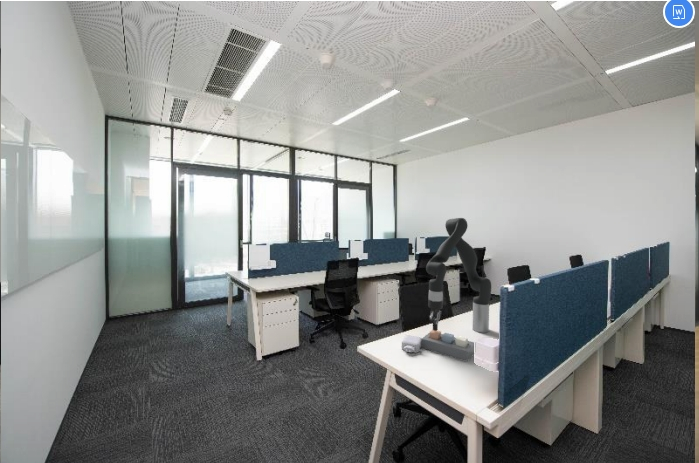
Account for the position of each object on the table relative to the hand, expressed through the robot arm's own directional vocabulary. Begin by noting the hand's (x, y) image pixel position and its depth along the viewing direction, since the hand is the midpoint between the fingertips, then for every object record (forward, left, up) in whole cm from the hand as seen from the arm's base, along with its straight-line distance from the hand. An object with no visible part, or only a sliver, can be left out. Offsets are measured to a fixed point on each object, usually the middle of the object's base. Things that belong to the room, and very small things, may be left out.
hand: (435, 330), depth 155 cm
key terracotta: (0, 0, -6) cm, 6 cm away
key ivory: (0, +14, -6) cm, 15 cm away
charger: (+12, -8, -9) cm, 17 cm away
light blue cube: (0, +7, -6) cm, 9 cm away
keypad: (0, +7, -9) cm, 11 cm away
